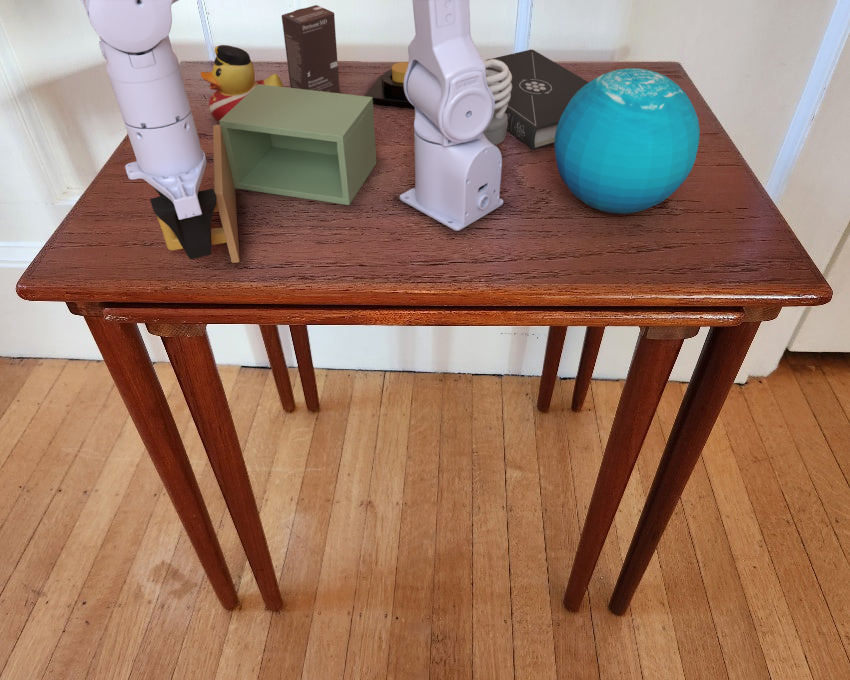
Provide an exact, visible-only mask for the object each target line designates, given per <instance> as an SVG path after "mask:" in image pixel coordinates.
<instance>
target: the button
mask: <svg viewBox="0 0 850 680" xmlns="http://www.w3.org/2000/svg"><path fill="white" fill-rule="evenodd" d="M408 63H409V61H401V62H396V63H394V64H392V66H391V69H392V80H393V81H395V82H400V83H404V77H405V74H406V71H407V68H408Z"/></svg>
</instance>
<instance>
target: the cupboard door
mask: <svg viewBox="0 0 850 680" xmlns="http://www.w3.org/2000/svg"><path fill="white" fill-rule="evenodd" d="M212 142H213V144H212V145H213V146H212V147H213V148H212V149H213V153H212V154H213V189H214V192H215V194H216V197H217V202H216V207H215V209H214V211H213V213H217V212H218V213H219V218H220V222H221V227H215V228H214V227H213V228H211V243H212V246H214V245H220V244H226V247H227V250H228V253H229V257H230V261H231V263H232V264H236V263H240V246H239V245H240V244H239V230H238V213H237V195H236V188H235V186H234V182H233V178H232V173H231V169H230V165H229V160H228V156H227V152H226V147H225V143H224V139H223V134H222V130H221V126H220V124H213V125H212ZM156 218H157V222H158V223H159V226H160V230H161V232H162V236H163V239H164V243H165V245H166V247H167V250H169V251H176V250H184V249H183V247H182V246H181V244H180V242H179V240H178V239H177V237H176V235H175V234H174V232H173V231H172V230H171V229H170V227H169V226H168V225H167V224H166V223H165V222H163V221H162V220H161V219H159V218H158V216H157V215H156Z"/></svg>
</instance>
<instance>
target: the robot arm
mask: <svg viewBox="0 0 850 680" xmlns="http://www.w3.org/2000/svg"><path fill="white" fill-rule="evenodd" d="M80 2H81V4H82V6H83V9H84V10H85V11H86V14H87V17H88V20H89V23H90V24H91V27H92V28H93V30H94V31H95V32H96V34H97V35H98V37H99V41H98V42H99V43H98V44H99V49H100V51H101V54H102V57H103V58H104V60H106V62H105V71H106V73H107V77H108V79H109V82H110V86H111V89H112V92H113V94H114V97H115V100H116V103H117V107H118V109H119V112H120V115H121V118H122V121H123V124H124V127H125V130H126V132H127V135H128V139H129V142H130V145H131V147H132V150H133V153H134V156H135V159H136V160H135V161H132V162H129V163H126V164H125V165H124V169H125V172H126V175H127V178H128V179H129V180H132V181H133V180H134V181H135V180H139V179H140V180H144V181H145V182H147V184H149V185H150V186H151V187H152V188H153V189H154V191H156V193H157V194H158V195H159V196H156V197H152V198H150V200H149V201H150V204H151V207H152V210H153V213H154V214H155V216H156V217H157V216H158V218H159V219H161V220H162V221H163V222H165V223H166V224H167V225H168V226H169V227H170V229H171V230H172V231H173V232H174V234H175V235H176V237H177V239H178V240H179V242H180V244H181V246H182V247H183V249H182V250H183V251H184V253H185V255H186V256H187V257H188V259H190V260H195V259H200V258H203V257H207V256H210V255H212V246H213V245H212V243H211V229H212V219H213V215H214V212H213V211H214V209H215V207H216V202H217V197H216V194H215V192H214V188H209V189H205V190H201V191H200V187H201V183H202V182H203V181H202V180H203V178H204V174H205V170H206V167H207V164H208V161H207V157H206V153H205V151H204V150H203V149H202V146H201V143H200V139H199V135H198V131H197V127H196V123H195V120H194V115H193V112H192V108H191V104H190V100H189V96H188V93H187V89H186V85H185V82H184V78H183V74H182V70H181V66H180V63H179V59H178V55H177V54H175V52H174V50H173V47H172V43H171V39H170V36H169V35H170V33H171V30H172V24H173V14H172V13H173V12H172V5H173V4H174V3H177V2H179V0H80ZM411 2H412V11H413V21H414V33H415V35H414V37H413V38H412V40H411V41H410V43H409V44H408V46H407V52H408V62H409V63H408V68H407V71H406V74H405V77H404V92H405V96H406V98H407V100H408V101H409V102H410V103H411V104H412V105H413V106H414V107H415V109H414V120H413V141H414V142H413V143H414V146H413V147H414V187H413V188H411V189H408V190H407V191H405V192H402V193H401V194H400V195H399V200H400V201H401V202H403V203H405V204H406V205H408V206H411V207H412V208H413V209H416V210H417V211H419V212H421V213H423V214H425V215H426V216H428V217H429V218H432V219H433V220H435V221H437V222H438V223H441V224H442V225H444V226H446V227H448V228H449V229H451V230H453V231H457V232H458V231H461V230H463V229H464V228H466V227H468V226H469V225H472V224H474V223H475V222H476V221H478V220H480V219H481V218H483V217H484V216H486V215H488V214H490V213H491V212H493V211H495V210H497V209H498V208H500V207H502V206H503V205H504V200H503V198H500V195H501V181H502V170H503V156H502V152H501V150H500V148H499V147H497V145H493V144H492V143H491V142H490V141H489V140H488V139H487V138H486V137H485V135H484V134H483V132H484V131H485V130H486V128H487V127H488V126H489V124H490V122H491V120H492V118H493V114H494V110H495V100H494V96H493V93H492V92H491V90H490V88H489V86H488V84H487V81H486V68H485V65H484V62H483V60H484V59H483V58H482V56H481V54H480V52H479V50H478V48H477V46H476V44H475V42H474V40H473V38H472V35H471V12H470V0H411ZM158 218H157V219H158Z"/></svg>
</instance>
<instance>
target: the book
mask: <svg viewBox="0 0 850 680" xmlns="http://www.w3.org/2000/svg"><path fill="white" fill-rule="evenodd" d="M490 59H496V60H499V61H502V62H503V63H505V64H506V65H507V66H508V69H509V71H510V72H511V75H512V81H511V84H512V89H511V92H510V93H511V97H510V100H509V102H508V106H507V108H506V111H505V113H506V114H507V116H508V126H507V131H506V132H508V133H510V134H511V135H512V136H513V137H515V138H516V139H517V140H518V141H520V142H521V143H523V144H524V145H525V146H526V147H528V148H529V149H531V150H535V149H540V148H543V147H546V146H550V145H553V144H554V143H555V133H556V129H557V125H558V123H559V120H560V118H561V116H562V114H563V112H564V110H565V108H566V107H567V105H568V103H569V102H570V100H571V99H572V97H573V96H574V95H575V94H576V93H577V92H578V91H579V90H580V89H581V88H582V87H584V86H585V85H586V84H587V83H589V82H590V81H588V80H586V79H584V78H582V77H581V76H579V75H577V74H576V73H574V72H572V71H570V70H568V69H567V68H566V67H564V66H562V65H560V64H559V63H557V62H555V61H553V60H552V59H550V58H548V57H546V56H544V55H543V54H541V53H539V52H538V51H536V50H534V49H528V50H527V49H526V50H523V51H522V50H521V51H519V52H514V53H510V54H506V55H505V54H504V55H501V56H497V57H492V58H488V59H486V60H490ZM486 70H493V71H496V72H499V73H501V71H499V70H497V69H494V68H491V67H488V68H486ZM486 77H487V76H486ZM498 82H500V83H501V82H502V81H498ZM498 92H502V91H498ZM498 102H500V101H495V104H496V103H498ZM499 109H501V108H499Z"/></svg>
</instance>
